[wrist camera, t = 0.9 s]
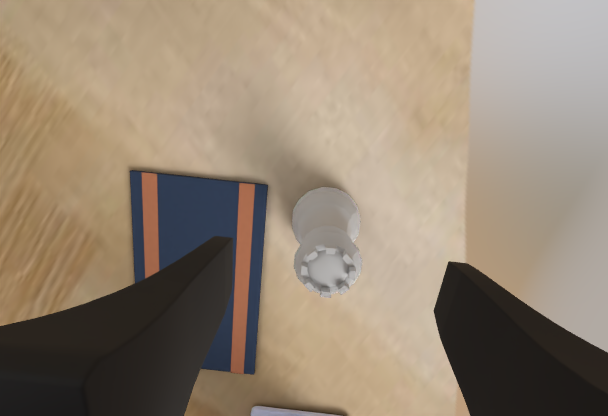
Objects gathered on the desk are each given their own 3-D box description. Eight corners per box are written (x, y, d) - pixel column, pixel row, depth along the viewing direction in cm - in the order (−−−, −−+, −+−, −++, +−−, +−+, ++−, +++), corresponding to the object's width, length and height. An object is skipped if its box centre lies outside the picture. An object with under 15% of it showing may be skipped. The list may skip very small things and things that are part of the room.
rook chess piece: (340, 172, 23) (350, 209, 15) (370, 230, 24) (394, 291, 16) (280, 204, 24) (260, 254, 16) (312, 259, 25) (308, 330, 17)
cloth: (254, 371, 28) (253, 375, 28) (140, 358, 28) (138, 361, 28) (267, 184, 23) (267, 185, 23) (132, 170, 24) (129, 171, 23)
